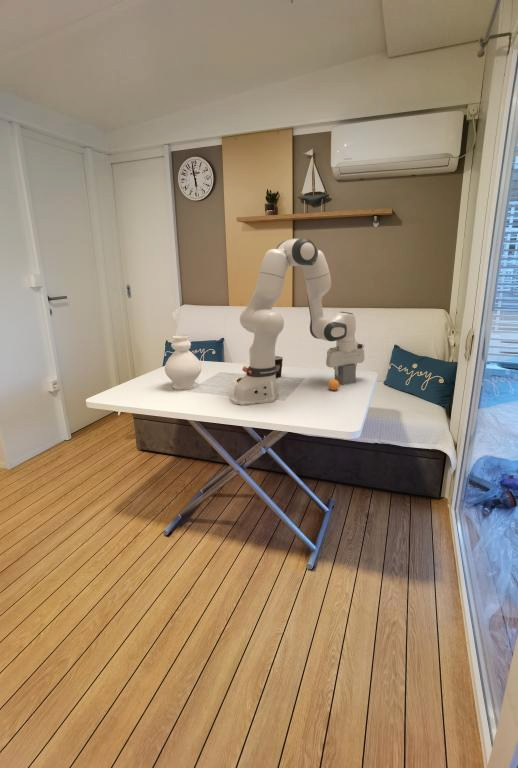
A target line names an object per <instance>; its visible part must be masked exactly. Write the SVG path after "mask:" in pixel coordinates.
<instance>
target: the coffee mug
mask: <svg viewBox="0 0 518 768" xmlns="http://www.w3.org/2000/svg"><path fill="white" fill-rule="evenodd" d="M283 359H284V358H283V356H279V355H275V365H276V379H278V377H279V378H281V377H282V369H283V361H284V360H283Z"/></svg>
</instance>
